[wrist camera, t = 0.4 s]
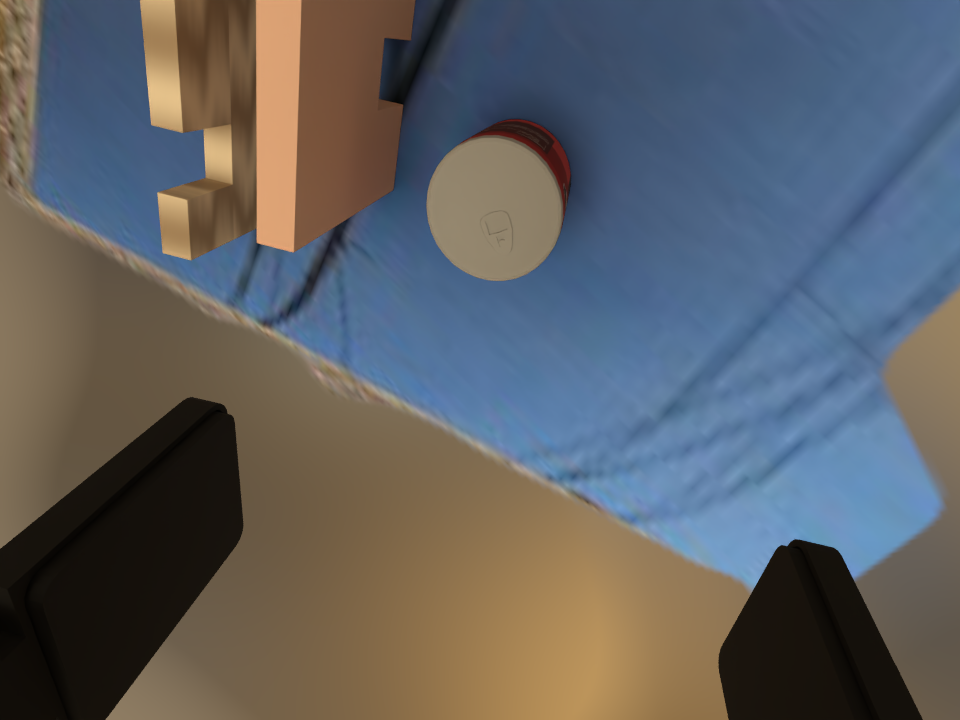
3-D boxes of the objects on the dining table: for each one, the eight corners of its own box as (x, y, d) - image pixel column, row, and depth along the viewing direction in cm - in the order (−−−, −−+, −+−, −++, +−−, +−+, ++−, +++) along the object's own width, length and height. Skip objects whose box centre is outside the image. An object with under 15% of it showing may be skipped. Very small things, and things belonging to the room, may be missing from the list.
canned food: (504, 251, 43) (477, 305, 34) (443, 160, 41) (396, 190, 31) (593, 195, 40) (591, 237, 31) (532, 93, 38) (510, 104, 28)
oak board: (241, -51, 37) (132, -85, 28) (270, -45, 37) (169, -77, 28) (245, 216, 46) (162, 252, 37) (268, 222, 46) (191, 260, 37)
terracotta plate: (368, 183, 43) (256, 242, 29) (392, -76, 35) (255, -166, 21) (393, 189, 43) (293, 252, 29) (423, -70, 35) (306, -156, 21)
